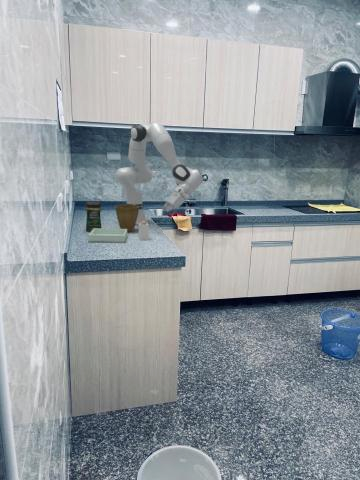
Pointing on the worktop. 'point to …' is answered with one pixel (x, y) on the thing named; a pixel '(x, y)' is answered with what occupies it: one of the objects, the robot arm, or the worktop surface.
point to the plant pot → (127, 216)
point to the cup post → (143, 231)
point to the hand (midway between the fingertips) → (164, 209)
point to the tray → (108, 235)
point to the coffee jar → (93, 215)
